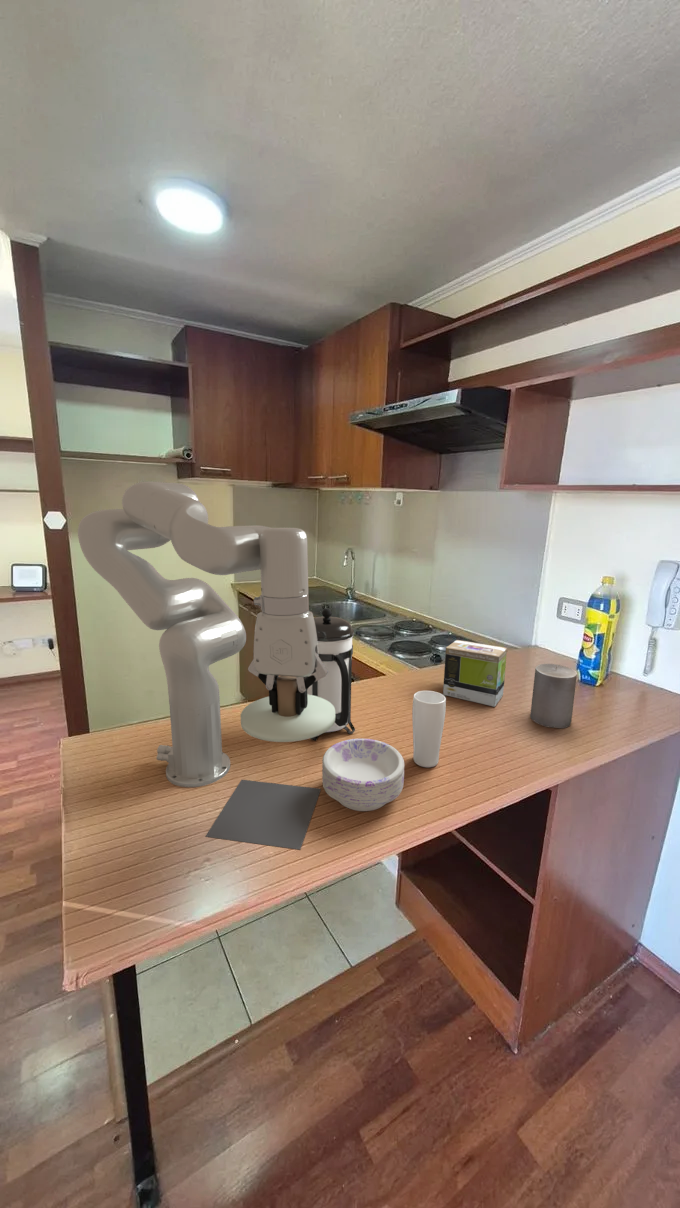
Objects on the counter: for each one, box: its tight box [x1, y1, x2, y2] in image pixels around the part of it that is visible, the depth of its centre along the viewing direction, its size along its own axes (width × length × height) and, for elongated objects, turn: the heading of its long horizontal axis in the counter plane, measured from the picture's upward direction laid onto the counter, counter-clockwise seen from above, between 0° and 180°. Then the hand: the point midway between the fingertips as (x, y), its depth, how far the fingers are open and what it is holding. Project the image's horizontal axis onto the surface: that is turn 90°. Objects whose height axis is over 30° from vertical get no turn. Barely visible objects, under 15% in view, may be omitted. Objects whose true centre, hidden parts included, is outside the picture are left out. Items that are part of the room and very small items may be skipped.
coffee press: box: [307, 608, 356, 742], centre depth 108 cm, size 17×16×30 cm
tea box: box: [442, 639, 508, 708], centre depth 131 cm, size 15×10×15 cm, turn 58°
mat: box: [205, 779, 322, 851], centre depth 82 cm, size 16×16×1 cm
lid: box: [240, 676, 335, 743], centre depth 78 cm, size 16×16×7 cm
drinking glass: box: [411, 690, 447, 768], centre depth 97 cm, size 7×7×15 cm
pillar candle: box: [529, 663, 578, 729], centre depth 117 cm, size 10×10×15 cm
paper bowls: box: [321, 738, 405, 812], centre depth 86 cm, size 15×15×8 cm
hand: (288, 709), depth 78 cm, fingers closed on lid, 3 cm apart
